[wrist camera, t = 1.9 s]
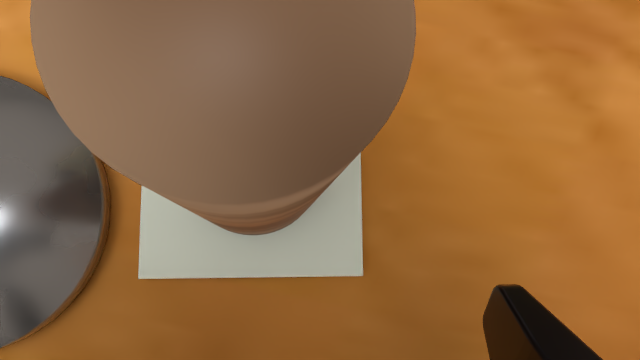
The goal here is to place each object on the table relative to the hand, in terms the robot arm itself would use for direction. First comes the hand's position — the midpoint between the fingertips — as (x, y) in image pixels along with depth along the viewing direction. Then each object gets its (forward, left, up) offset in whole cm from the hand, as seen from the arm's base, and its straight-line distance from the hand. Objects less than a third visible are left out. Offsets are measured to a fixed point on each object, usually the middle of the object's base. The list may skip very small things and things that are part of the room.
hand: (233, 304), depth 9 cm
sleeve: (+3, +3, -10) cm, 11 cm away
